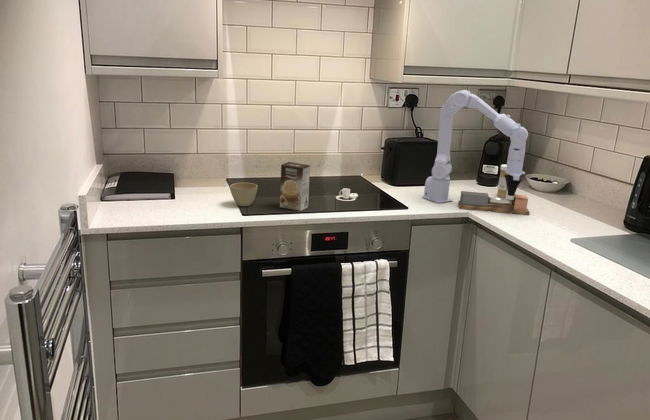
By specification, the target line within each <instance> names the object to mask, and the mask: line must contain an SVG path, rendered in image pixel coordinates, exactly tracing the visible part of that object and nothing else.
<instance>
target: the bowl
mask: <svg viewBox="0 0 650 420" xmlns="http://www.w3.org/2000/svg"><path fill="white" fill-rule="evenodd" d="M229 189H230V193H231V196H232V198H233V200H234V203H235V204H236V205H237V206H239V207H250V206H251V205H252V203H254V200H255V198H256V196H257V192H258V184H256V183H253V182H235V183H232V184H231V185H229Z"/></svg>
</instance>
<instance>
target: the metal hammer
mask: <svg viewBox="0 0 650 420" xmlns="http://www.w3.org/2000/svg"><path fill="white" fill-rule="evenodd" d="M513 198H514V196H508V187H507V194H506V198H503V197H499V196H489V197H488V204H495V205H506V206H514V203H515V199H513Z"/></svg>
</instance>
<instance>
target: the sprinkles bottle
mask: <svg viewBox="0 0 650 420" xmlns="http://www.w3.org/2000/svg"><path fill="white" fill-rule="evenodd" d="M506 167H507V164H501V165H500V174H499V177H498V179H499V180H498V184H497V194H496V197H499V198H506V194H507V187H506V179H505V176H504V175H509V174H507V173H505V170H506Z"/></svg>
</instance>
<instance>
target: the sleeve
mask: <svg viewBox="0 0 650 420" xmlns="http://www.w3.org/2000/svg"><path fill="white" fill-rule="evenodd" d="M488 197H490V195H489V193H488V192H478V191H468V190H467V191H466V190H465V191H464V190H461V191H460V197H459V201H460V205H469V206H480V207H487V205H488Z"/></svg>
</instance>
